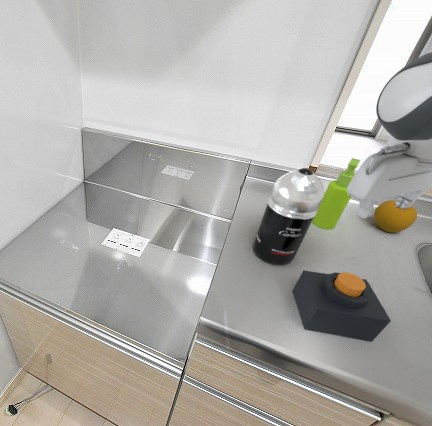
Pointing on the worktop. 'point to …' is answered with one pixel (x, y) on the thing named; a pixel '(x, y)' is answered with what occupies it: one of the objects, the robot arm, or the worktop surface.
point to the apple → (394, 217)
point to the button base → (338, 308)
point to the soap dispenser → (335, 198)
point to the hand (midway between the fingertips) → (382, 211)
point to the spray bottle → (288, 216)
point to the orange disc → (349, 284)
